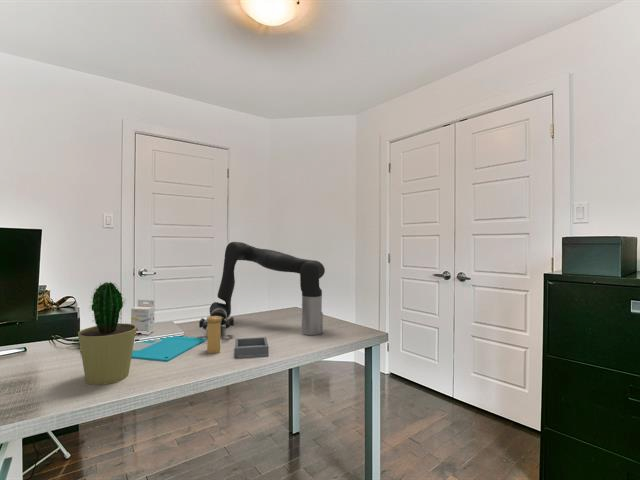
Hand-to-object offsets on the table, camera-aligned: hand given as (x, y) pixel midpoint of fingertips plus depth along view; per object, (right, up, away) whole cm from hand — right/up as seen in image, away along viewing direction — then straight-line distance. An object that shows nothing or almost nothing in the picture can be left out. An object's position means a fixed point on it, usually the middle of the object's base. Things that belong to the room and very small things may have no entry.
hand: (215, 326), depth 140 cm
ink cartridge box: (-37, -6, +12) cm, 39 cm away
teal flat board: (-21, -7, -7) cm, 23 cm away
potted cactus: (-22, -7, -36) cm, 43 cm away
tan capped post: (+2, -7, -10) cm, 13 cm away
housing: (+17, -7, -11) cm, 21 cm away
